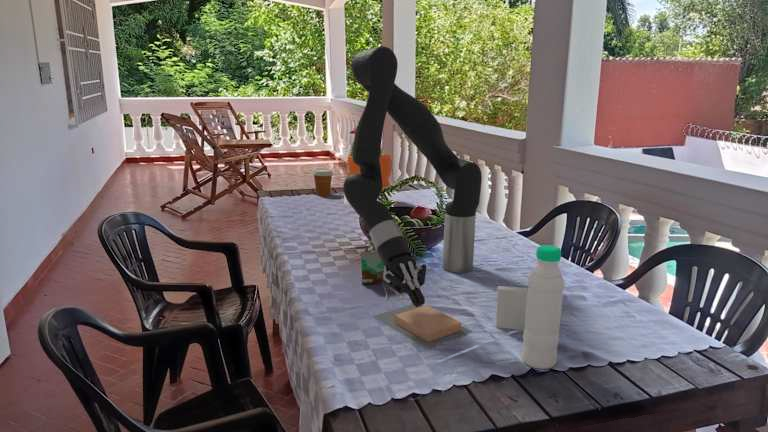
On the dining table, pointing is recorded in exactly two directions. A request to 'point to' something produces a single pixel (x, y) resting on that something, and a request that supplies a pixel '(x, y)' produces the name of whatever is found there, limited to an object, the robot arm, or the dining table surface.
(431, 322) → the terracotta tile
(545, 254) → the water bottle
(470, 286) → the dining table surface
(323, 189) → the disposable coffee cup
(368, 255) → the food container
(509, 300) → the grey tile
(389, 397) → the dining table surface
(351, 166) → the potted cactus
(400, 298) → the tweezers
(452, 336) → the slate board
